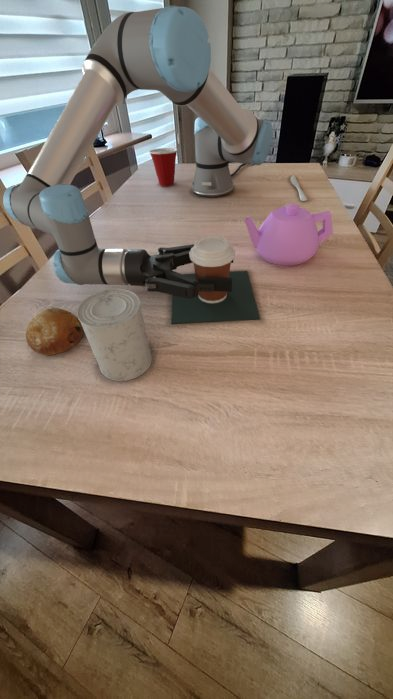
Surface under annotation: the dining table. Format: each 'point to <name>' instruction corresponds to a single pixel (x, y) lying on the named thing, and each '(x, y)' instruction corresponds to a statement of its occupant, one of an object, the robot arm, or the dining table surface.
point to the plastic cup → (164, 164)
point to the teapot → (289, 234)
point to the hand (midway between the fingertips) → (232, 269)
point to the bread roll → (53, 331)
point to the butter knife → (295, 183)
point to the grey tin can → (116, 333)
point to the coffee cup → (212, 263)
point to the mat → (218, 304)
